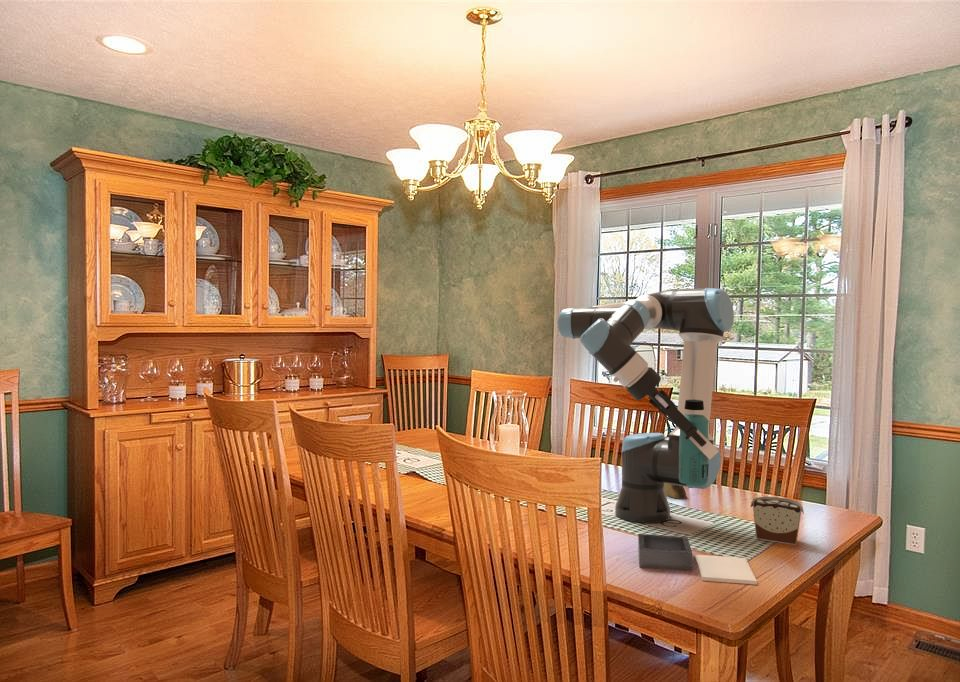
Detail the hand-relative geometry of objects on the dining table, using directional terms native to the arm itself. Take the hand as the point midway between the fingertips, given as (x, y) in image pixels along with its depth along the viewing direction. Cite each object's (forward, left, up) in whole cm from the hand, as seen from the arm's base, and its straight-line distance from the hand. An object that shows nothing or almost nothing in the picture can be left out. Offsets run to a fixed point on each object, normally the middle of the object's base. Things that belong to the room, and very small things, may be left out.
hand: (710, 451), depth 153 cm
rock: (-64, -4, -26) cm, 69 cm away
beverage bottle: (0, -4, -9) cm, 9 cm away
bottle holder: (-3, -10, -26) cm, 28 cm away
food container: (-25, +20, -26) cm, 41 cm away
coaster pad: (+1, +3, -26) cm, 26 cm away
